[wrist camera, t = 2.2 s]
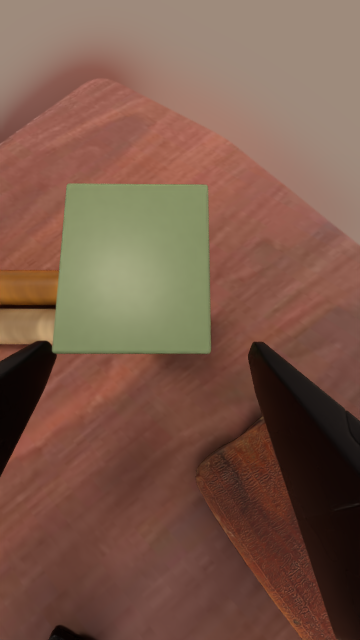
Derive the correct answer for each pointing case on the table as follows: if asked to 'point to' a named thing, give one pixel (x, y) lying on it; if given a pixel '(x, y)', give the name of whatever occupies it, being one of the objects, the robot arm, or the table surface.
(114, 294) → the bar
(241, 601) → the table surface
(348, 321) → the table surface
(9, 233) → the table surface
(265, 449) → the wooden tablet
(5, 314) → the rods
